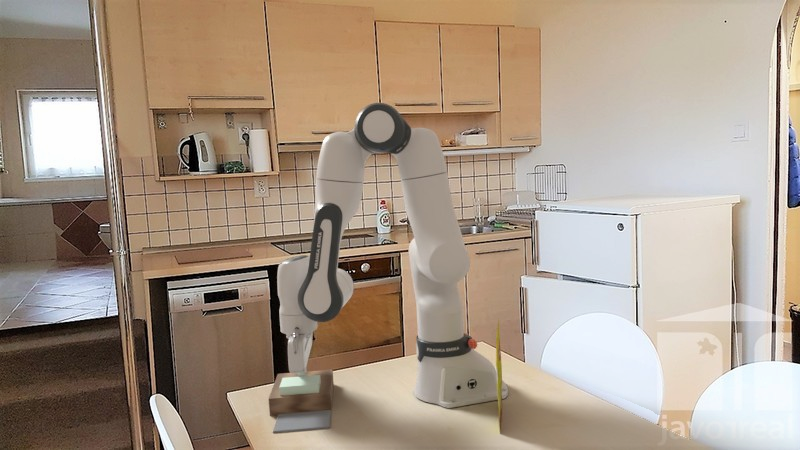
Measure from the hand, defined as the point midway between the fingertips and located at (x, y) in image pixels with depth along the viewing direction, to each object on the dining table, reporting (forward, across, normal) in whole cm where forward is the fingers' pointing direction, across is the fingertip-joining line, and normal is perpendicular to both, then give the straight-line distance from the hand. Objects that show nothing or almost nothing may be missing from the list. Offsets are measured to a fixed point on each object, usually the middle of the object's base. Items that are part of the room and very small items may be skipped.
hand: (302, 377), depth 139 cm
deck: (+5, -1, 0) cm, 5 cm away
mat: (+5, -14, -1) cm, 14 cm away
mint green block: (+1, -4, 0) cm, 5 cm away
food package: (+5, -19, -44) cm, 48 cm away
